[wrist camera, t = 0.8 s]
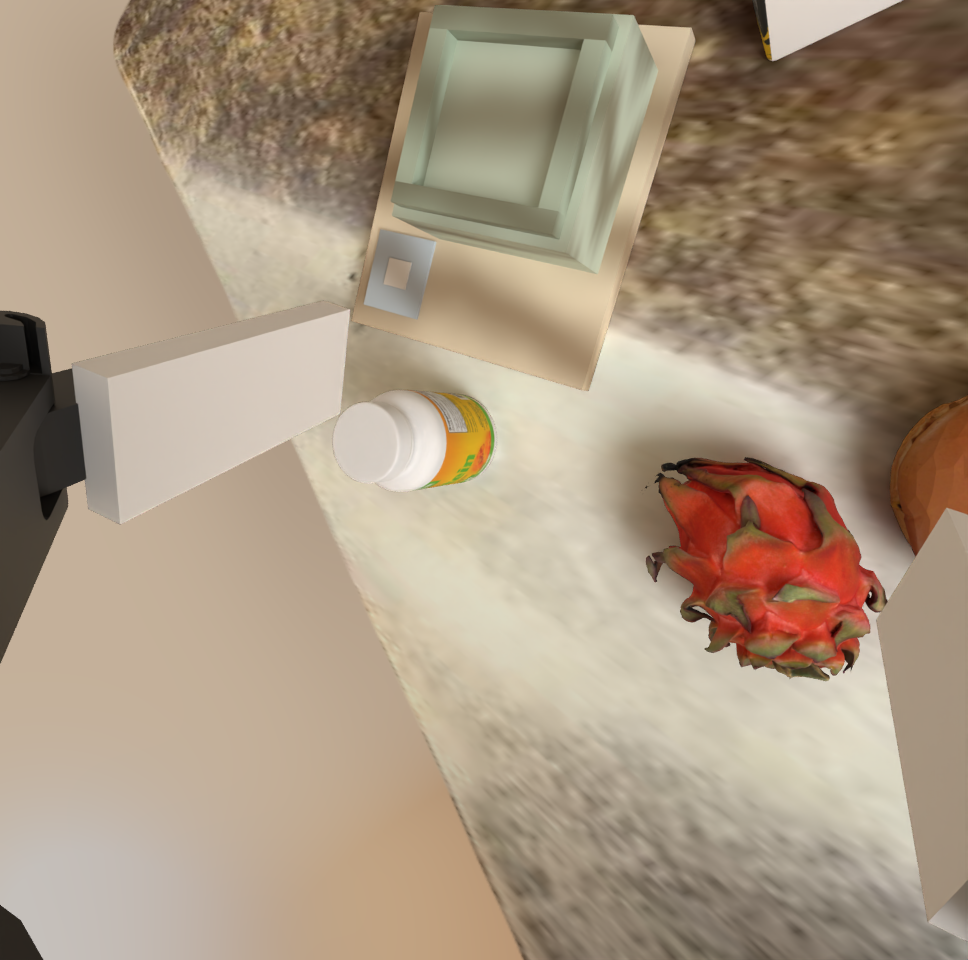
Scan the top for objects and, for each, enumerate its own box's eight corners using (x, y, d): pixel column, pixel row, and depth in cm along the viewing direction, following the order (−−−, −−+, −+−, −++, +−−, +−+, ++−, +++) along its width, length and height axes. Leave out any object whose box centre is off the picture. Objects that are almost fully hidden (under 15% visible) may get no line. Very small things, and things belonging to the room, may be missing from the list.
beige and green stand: (588, 391, 37) (540, 384, 30) (362, 323, 43) (284, 306, 37) (695, 40, 33) (666, -52, 27) (430, 22, 39) (355, -55, 33)
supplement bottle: (451, 499, 41) (356, 519, 33) (407, 429, 42) (303, 430, 34) (516, 448, 39) (431, 456, 30) (467, 376, 40) (372, 363, 32)
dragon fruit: (844, 656, 34) (692, 475, 38) (985, 588, 27) (780, 376, 31) (736, 745, 30) (581, 532, 34) (868, 692, 23) (653, 434, 27)
